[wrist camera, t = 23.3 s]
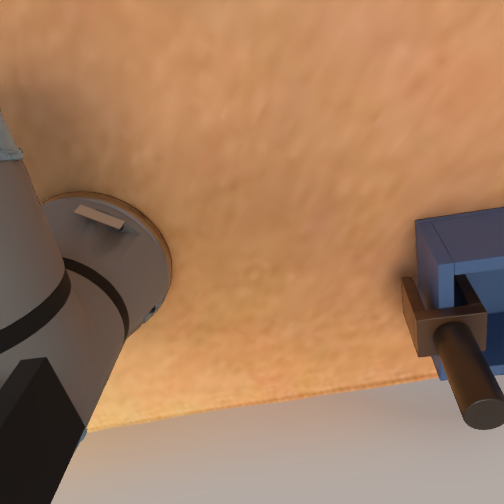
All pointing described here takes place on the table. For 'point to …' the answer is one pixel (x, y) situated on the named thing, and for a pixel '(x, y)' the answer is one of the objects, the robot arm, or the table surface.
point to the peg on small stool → (458, 349)
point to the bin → (465, 270)
